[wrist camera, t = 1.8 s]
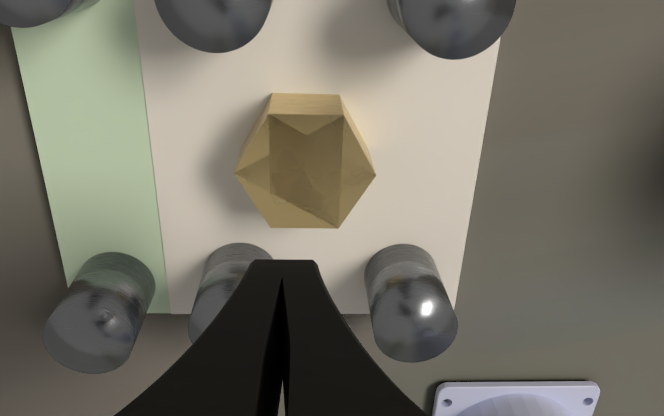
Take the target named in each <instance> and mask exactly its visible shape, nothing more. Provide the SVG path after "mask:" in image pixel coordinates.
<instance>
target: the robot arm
mask: <svg viewBox="0 0 664 416" xmlns="http://www.w3.org/2000/svg"><path fill="white" fill-rule="evenodd" d="M282 380H283V389H284V403H285V416H428V415H427V414H426V413H425V412H424V411H422V410H421V409H420V408H419V407H418V406H417V405H416V404H415V403H414V402H413V401H411V400H410V399H409V398H408V397H407V396H406V395H405V394H404V393H403V392H402V391H401V390H400V389H399V388H398V387H397V386H396V385H395V384H394V383H393V382H392V381H391V379H390V378H389V377H388V376H387V375H386V374H385V373H384V372H383V371H382V369H381V368H380V367H379V366H378V365H377V364H376V363H375V361H374V360H373V359H372V358H371V356H370V355H369V354H368V353H367V351H366V350H365V349H364V347H363V346H362V345H361V343H360V342H359V340H358V339H357V338H356V336H355V335H354V333H353V332H352V331H351V329H350V328H349V326H348V325H347V323H346V321H345V320H344V318H343V317H342V315H341V313H340V312H339V310H338V308H337V307H336V305H335V303H334V301H333V299H332V298H331V296H330V294H329V292H328V290H327V288H326V286H325V284H324V281H323V279H322V277H321V274H320V271H319V268H318V264H317V263H316V262H315V261H314V260H285V259H255V260H254V261H253V262H252V263H250V265H249V267H248V269H247V271H246V273H245V274H244V276H243V278H242V279H241V281H240V283H239V284H238V286H237V287H236V289H235V290H234V292H233V294H232V295H231V296H230V298H229V299H228V301H227V302H226V303H225V305H224V306H223V307H222V309H221V310H220V312H219V313H218V314H217V316H216V317H215V318H214V320H213V321H212V322H211V323H210V324H209V326H208V327H207V328H206V329H205V330H204V332H203V333H202V334H201V335H200V336H199V338H198V339H197V340H196V341H195V342H194V343H193V345H192V346H191V347H190V348H189V349H188V350H187V351H186V352H185V353H184V354H183V355H182V356H181V357H180V358H179V359H178V360H177V361H176V362H175V363H174V364H173V365H172V366H171V367H170V368H169V369H168V370H167V371H166V372H165V373H164V374H163V375H162V376H161V377H160V378H159V379H158V380H156V381H155V382H154V383H153V384H152V385H151V386H150V387H148V388H147V389H146V390H145V391H144V392H143V393H142V394H140V395H139V396H138V397H137V398H136V399H135V400H133V401H132V402H131V403H130V404H128V405H127V406H126V407H125V408H123V409H122V410H121V411H120V412H118V413H117V414H115V415H114V416H277V415H278V408H279V401H280V394H281V387H282ZM599 395H600V389H599V387H598V386H597V384H596V383H595V382H592V381H539V382H446V383H442V384H440V385H439V386H438V387H437V389H436V394H435V400H434V406H433V412H432V416H592V415H593V412H594V409H595V406H596V403H597V400H598V397H599ZM445 399H448V400H446V401H443V400H445Z"/></svg>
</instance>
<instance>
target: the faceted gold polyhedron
mask: <svg viewBox="0 0 664 416" xmlns="http://www.w3.org/2000/svg"><path fill="white" fill-rule="evenodd" d="M234 175H235V176H236V178H237V179H238V181H239V182H240V183H241V185H242V186H243V188H244V189H245V191H246V192H247V194H248V195H249V197H250V198H251V200H252V201H253V203H254V204H255V206H256V207H257V209H258V210H259V212H260V213H261V215H262V216H263V218H264V219H265V220H266V222H267V223H268V225H269V226H270V228H328V229H339V227H340V226H341V224H342V223H343V222H344V220H345V219H346V217H347V216H348V215H349V213H350V212H351V210H352V209H353V207H354V206H355V205H356V203H357V202H358V200H359V199H360V198H361V196H362V195H363V193H364V192H365V191H366V189H367V188H368V186H369V185H370V184H371V182H372V181H373V179H374V178H375V177H376V173H375V169H374V166H373V163H372V159H371V156H370V153H369V149H368V147H367V145H366V144H365V142H364V140H363V138H362V136H361V134H360V132H359V130H358V129H357V127H356V125H355V123H354V121H353V119H352V117H351V115H350V114H349V112H348V110H347V108H346V106H345V104H344V102H343V100H342V99H341V97H340V95H339V94H301V93H272V95H271V96H270V98H269V100H268V101H267V103H266V105H265V107H264V108H263V110H262V112H261V113H260V115H259V117H258V119H257V120H256V122H255V124H254V125H253V127H252V129H251V131H250V132H249V134H248V136H247V137H246V139H245V141H244V143H243V144H242V146H241V149H240V152H239V156H238V159H237V163H236V166H235V170H234Z"/></svg>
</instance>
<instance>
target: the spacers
mask: <svg viewBox="0 0 664 416" xmlns="http://www.w3.org/2000/svg"><path fill="white" fill-rule="evenodd" d="M98 1H100V0H0V24H3V25H6V26H10V27H17V28H30V27H36V26H39V25H42V24H45V23H47V22H50V21H53V20H56V19H58V18H61V17H64V16H66V15H69V14H72V13H75V12H77V11H80V10H83V9H85V8H88V7H90V6H92V5H94V4H96V3H97V2H98ZM154 1H155V5H156V8H157V11H158V13H159V15H160V17H161V19H162V21H163V22H164V24H165V25H166V27H167V28H168V29H169V30H170V31H171V33H172V34H173V35H174V36H176V37H177V38H178V39H179V40H180V41H182V42H183V43H185V44H186V45H188V46H190V47H192V48H194V49H197V50H200V51H203V52H208V53H225V52H230V51H234V50H237V49H239V48H241V47H243V46H244V45H246V44H247V43H249V42H250V41H251V40H252V39H254V38H255V36H256V35H257V34H258V33H259V32H260V30H261V28H262V27H263V25H264V23H265V21H266V19H267V16H268V14H269V11H270V9H271V6H272V4H273V0H154ZM386 1H387V5H388V8H389V11H390V13H391V15H392V17H393V19H394V20H395V21H396V23H397V24H398V25H399V26H400V27H401V28H402V29H403V30H404V31H405V32H406V33H407V34H408V35H409V36H410V37H411V38H412V39H413V40H414V41H415V42H416V43H417V44H418V45H419V46H420V47H421V48H422V49H424V50H425V51H426V52H428V53H430V54H431V55H434V56H436V57H439V58H443V59H449V60H459V59H465V58H469V57H472V56H475V55H477V54H479V53H481V52H483V51H484V50H486V49H487V48H489V47H490V46H491V45H493V44H494V43H495V42H496V41H497V40H498V39H499V37H500V36H501V35H502V34H503V32H504V31H505V29H506V28H507V26H508V24H509V22H510V20H511V18H512V15H513V12H514V8H515V3H516V0H386ZM255 259H273V258H272V256H271V255H270V254H269V253H268V252H266V251H265V250H264V249H262V248H260V247H258V246H256V245H253V244H249V243H230V244H227V245H224V246H222V247H220V248H218V249H216V250H215V251H214V252H213V253H212V254H211V255H210V256H209V258H208V259H207V261H206V264H205V267H204V270H203V274H202V277H201V280H200V284H199V287H198V291H197V294H196V298H195V301H194V305H193V308H192V312H191V315H190V319H189V322H188V334H189V337H190V340H191V342H192V344H193V343H194V342H195V341H196V340H197V339H198V338H199V336H200V335H201V334H202V333H203V332H204V330H205V329H206V328H207V327H208V326H209V324H210V323H211V322H212V321H213V320H214V318H215V317H216V316H217V314H218V313H219V312H220V310H221V309H222V307H223V306H224V305H225V303H226V302H227V301H228V299H229V298H230V296H231V295H232V294H233V292H234V290H235V289H236V287H237V286H238V284H239V283H240V281H241V279H242V278H243V276H244V274H245V273H246V271H247V269H248V267H249V265H250V263H252V262H253V261H254V260H255ZM364 281H365V287H366V293H367V299H368V304H369V310H370V316H371V321H372V327H373V333H374V338H375V342H376V344H377V346H378V347H379V349H380V350H381V351H382V352H383V353H384V354H385V355H387V356H388V357H390V358H392V359H395V360H397V361H401V362H421V361H426V360H429V359H431V358H434V357H436V356H438V355H439V354H441V353H442V352H444V351H445V350H446V349H447V348H448V347H449V346H450V345H451V343H452V342H453V340H454V339H455V336H456V334H457V329H458V322H457V317H456V315H455V312H454V310H453V307H452V305H451V302H450V300H449V297H448V295H447V292H446V290H445V287H444V285H443V282H442V280H441V277H440V275H439V272H438V270H437V267H436V265H435V262H434V260H433V258H432V257H431V255H430V254H429V253H428V252H427V251H425V250H424V249H422V248H420V247H418V246H415V245H411V244H395V245H391V246H388V247H386V248H384V249H382V250H380V251H379V252H377V253H376V254H375V255H374V256H373V257H372V258H371V259H370V260H369V262H368V264H367V266H366V268H365V272H364ZM155 288H156V287H155V280H154V277H153V275H152V273H151V271H150V270H149V268H148V267H147V266H146V265H145V264H144V263H143V262H141V261H140V260H138V259H137V258H135V257H133V256H131V255H128V254H125V253H120V252H104V253H100V254H97V255H95V256H93V257H91V258H90V259H88V260H87V261H86V262H85V263H84V265H83V266H82V268H81V269H80V271H79V272H78V274H77V275H76V277H75V278H74V280H73V282H72V283H71V285H70V286H69V288H68V289H67V291H66V292H65V294H64V295H63V297H62V298H61V300H60V302H59V303H58V305H57V306H56V308H55V309H54V311H53V312H52V314H51V315H50V317H49V318H48V320H47V322H46V323H45V325H44V328H43V333H42V337H43V342H44V345H45V347H46V349H47V351H48V352H49V354H50V355H51V356H52V357H53V358H54V359H55V360H56V361H57V362H59V363H60V364H62V365H63V366H65V367H67V368H69V369H72V370H75V371H78V372H82V373H88V374H99V373H106V372H109V371H112V370H115V369H117V368H118V367H120V366H121V365H123V364H124V363H125V362H126V360H127V359H128V358H129V355H130V353H131V351H132V348H133V346H134V343H135V341H136V338H137V336H138V334H139V331H140V329H141V326H142V324H143V321H144V319H145V316H146V314H147V311H148V309H149V306H150V304H151V301H152V299H153V296H154V293H155Z"/></svg>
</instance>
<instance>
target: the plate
mask: <svg viewBox="0 0 664 416" xmlns="http://www.w3.org/2000/svg"><path fill="white" fill-rule="evenodd" d="M11 30H12V35H13V39H14V44H15V49H16V53H17V58H18V62H19V67H20V71H21V76H22V81H23V85H24V90H25V94H26V99H27V103H28V108H29V112H30V117H31V122H32V126H33V131H34V135H35V140H36V144H37V149H38V153H39V158H40V163H41V167H42V172H43V176H44V181H45V185H46V190H47V194H48V199H49V204H50V208H51V213H52V217H53V222H54V226H55V231H56V236H57V240H58V245H59V249H60V254H61V258H62V263H63V267H64V272H65V277H66V281H67V286H68V288H69V286H70V285H71V283H72V282H73V280H74V278H75V277H76V275H77V274H78V272H79V271H80V269H81V268H82V266H83V265H84V263H85V262H86V261H87V260H88V259H90V258H91V257H93V256H95V255H97V254H100V253H104V252H120V253H125V254H128V255H131V256H133V257H135V258H137V259H138V260H140V261H141V262H143V263H144V264H145V265H146V266H147V267H148V268H149V270H150V271H151V273H152V275H153V277H154V280H155V287H156V288H155V293H154V296H153V299H152V301H151V304H150V306H149V309H148V311H147V313H171V314H191V312H192V308H193V305H194V301H195V298H196V294H197V291H198V287H199V284H200V280H201V277H202V274H203V270H204V267H205V264H206V261H207V259H208V258H209V256H210V255H211V254H212V253H213V252H214V251H215V250H216V249H218V248H220V247H222V246H224V245H227V244H230V243H249V244H253V245H256V246H258V247H260V248H262V249H264V250H265V251H266V252H268V253H269V254H270V255H271V256H272V258H273V259H285V260H314V261H315V262H316V263H317V264H318V268H319V271H320V274H321V277H322V279H323V281H324V284H325V286H326V288H327V290H328V292H329V294H330V296H331V298H332V299H333V301H334V303H335V305H336V307H337V308H338V310H339V312H340V313H341V314H370V310H369V304H368V299H367V293H366V287H365V281H364V272H365V268H366V266H367V264H368V262H369V260H370V259H371V258H372V257H373V256H374V255H375V254H376V253H377V252H379V251H380V250H382V249H384V248H386V247H388V246H391V245H395V244H411V245H415V246H418V247H420V248H422V249H424V250H425V251H427V252H428V253H429V254H430V255H431V257H432V258H433V260H434V262H435V265H436V267H437V270H438V272H439V275H440V277H441V280H442V282H443V285H444V287H445V290H446V292H447V295H448V297H449V300H450V302H451V305H452V307H453V310H454V306H455V301H456V295H457V289H458V283H459V277H460V271H461V265H462V260H463V254H464V248H465V242H466V236H467V230H468V224H469V219H470V213H471V207H472V201H473V195H474V189H475V183H476V178H477V172H478V166H479V160H480V154H481V148H482V142H483V137H484V131H485V125H486V119H487V113H488V107H489V101H490V96H491V90H492V84H493V78H494V72H495V66H496V60H497V55H498V49H499V43H500V37H501V36H500V37H499V39H498V40H497V41H496V42H495V43H494V44H493V45H491V46H490V47H489V48H487V49H486V50H484V51H483V52H481V53H479V54H477V55H475V56H472V57H469V58H465V59H459V60H449V59H443V58H439V57H436V56H434V55H431V54H430V53H428V52H426V51H425V50H424V49H422V48H421V47H420V46H419V45H418V44H417V43H416V42H415V41H414V40H413V39H412V38H411V37H410V36H409V35H408V34H407V33H406V32H405V31H404V30H403V29H402V28H401V27H400V26H399V25H398V24H397V23H396V21H395V20H394V19H393V17H392V15H391V13H390V11H389V8H388V5H387V1H386V0H273V4H272V6H271V9H270V11H269V14H268V16H267V19H266V21H265V23H264V25H263V27H262V28H261V30H260V32H259V33H258V34H257V35H256V36H255V38H254V39H252V40H251V41H250V42H249V43H247V44H246V45H244V46H243V47H241V48H239V49H237V50H234V51H230V52H225V53H208V52H203V51H200V50H197V49H194V48H192V47H190V46H188V45H186V44H185V43H183V42H182V41H180V40H179V39H178V38H177V37H176V36H174V35H173V34H172V33H171V31H170V30H169V29H168V28H167V27H166V25H165V24H164V22H163V21H162V19H161V17H160V15H159V13H158V11H157V8H156V5H155V1H154V0H100V1H98V2H97V3H96V4H94V5H92V6H90V7H88V8H85V9H83V10H80V11H77V12H75V13H72V14H69V15H66V16H64V17H61V18H58V19H56V20H53V21H50V22H47V23H45V24H42V25H39V26H36V27H30V28H17V27H11ZM272 93H301V94H339V95H340V97H341V99H342V100H343V102H344V104H345V106H346V108H347V110H348V112H349V114H350V115H351V117H352V119H353V121H354V123H355V125H356V127H357V129H358V130H359V132H360V134H361V136H362V138H363V140H364V142H365V144H366V145H367V147H368V149H369V153H370V156H371V159H372V163H373V166H374V169H375V173H376V177H375V178H374V179H373V181H372V182H371V184H370V185H369V186H368V188H367V189H366V191H365V192H364V193H363V195H362V196H361V198H360V199H359V200H358V202H357V203H356V205H355V206H354V207H353V209H352V210H351V212H350V213H349V215H348V216H347V217H346V219H345V220H344V222H343V223H342V224H341V226H340V227H339V229H328V228H270V226H269V225H268V223H267V222H266V220H265V219H264V218H263V216H262V215H261V213H260V212H259V210H258V209H257V207H256V206H255V204H254V203H253V201H252V200H251V198H250V197H249V195H248V194H247V192H246V191H245V189H244V188H243V186H242V185H241V183H240V182H239V181H238V179H237V178H236V176H235V175H234V170H235V166H236V163H237V159H238V156H239V152H240V149H241V146H242V144H243V143H244V141H245V139H246V137H247V136H248V134H249V132H250V131H251V129H252V127H253V125H254V124H255V122H256V120H257V119H258V117H259V115H260V113H261V112H262V110H263V108H264V107H265V105H266V103H267V101H268V100H269V98H270V96H271V95H272Z"/></svg>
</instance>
